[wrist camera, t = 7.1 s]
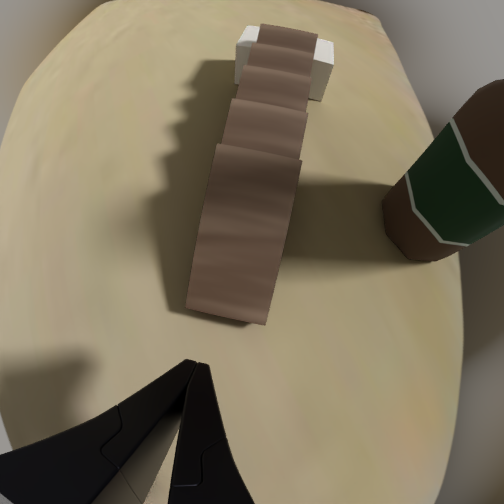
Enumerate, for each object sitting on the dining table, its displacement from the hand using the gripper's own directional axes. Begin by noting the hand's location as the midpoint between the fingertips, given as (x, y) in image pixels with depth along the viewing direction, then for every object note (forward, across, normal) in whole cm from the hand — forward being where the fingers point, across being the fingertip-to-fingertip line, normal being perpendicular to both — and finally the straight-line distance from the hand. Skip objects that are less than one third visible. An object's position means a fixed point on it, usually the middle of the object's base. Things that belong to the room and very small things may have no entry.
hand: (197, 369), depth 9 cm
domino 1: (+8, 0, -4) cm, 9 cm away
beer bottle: (+16, +14, +3) cm, 22 cm away
